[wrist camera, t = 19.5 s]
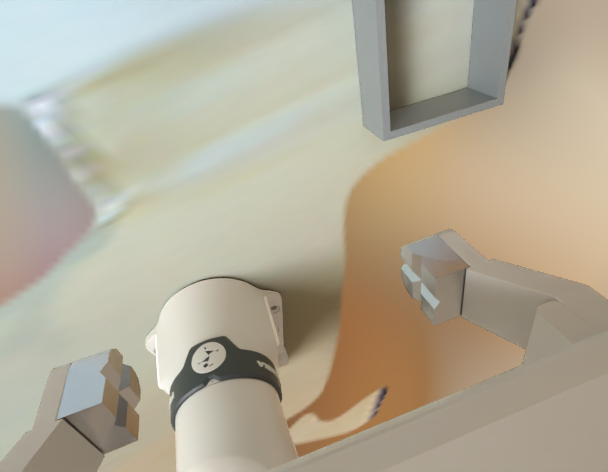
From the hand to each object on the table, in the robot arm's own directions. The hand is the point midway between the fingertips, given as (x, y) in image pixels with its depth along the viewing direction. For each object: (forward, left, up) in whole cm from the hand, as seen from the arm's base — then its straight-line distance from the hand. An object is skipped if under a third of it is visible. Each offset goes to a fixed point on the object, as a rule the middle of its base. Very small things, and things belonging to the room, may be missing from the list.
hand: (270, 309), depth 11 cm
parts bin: (-2, -23, -31) cm, 39 cm away
